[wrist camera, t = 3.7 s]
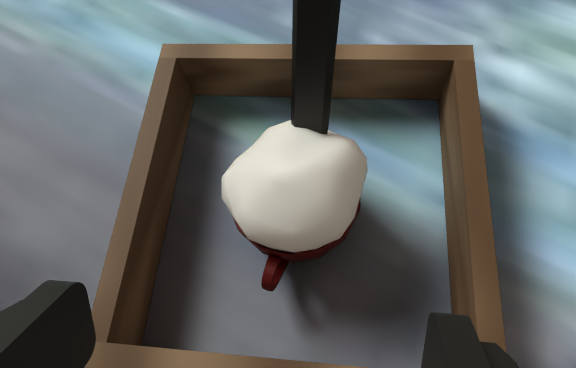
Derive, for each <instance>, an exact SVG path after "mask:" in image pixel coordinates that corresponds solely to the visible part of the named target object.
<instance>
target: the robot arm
mask: <svg viewBox="0 0 576 368" xmlns="http://www.w3.org/2000/svg"><path fill="white" fill-rule="evenodd" d="M95 343H96V333H95V328H94V323H93V318H92V314H91V309H90V304H89V299H88V295H87V290H86V288H85V286H84V285H83V284H82V283H80V282H68V281H55V280H48V281H46V282H44V283H43V284H41V285H40V286H39V287H38V288H37V289H36V290H34V291H33V292H32V293H31V294H30V295H29V296H27V297H26V298H25V299H24V300H21V301H19V302H17V303H16V304H14V305H12V306H10V307H8V308H6V309H4V310H3V311H1V312H0V368H84V367H85V366H86V364H87V363H88V361H89V360H90V358H91V356H92V354H93V351H94V348H95ZM421 368H519V367H518V365H517V363H516V362H515V361H514V360H513V359H512V358H511V357H510V356H509V355H508V354H507V353H506V352H505V351H504V350H503V349H502V348H501V347H500V346H499V345H498V344H497V343H491V342H480V340H479V338H478V336H477V333H476V331H475V328H474V326H473V324H472V321H471V319H470V317H469V316H468V315H459V314H447V313H435V312H431V313H430V315H429V319H428V325H427V331H426V338H425V345H424V351H423V358H422V365H421Z"/></svg>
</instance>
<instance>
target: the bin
mask: <svg viewBox="0 0 576 368" xmlns="http://www.w3.org/2000/svg"><path fill="white" fill-rule="evenodd" d="M195 95H217V96H269V97H291V96H292V44H163V45H162V49H161V52H160V56H159V60H158V64H157V67H156V71H155V75H154V79H153V82H152V86H151V90H150V94H149V97H148V101H147V105H146V109H145V112H144V116H143V120H142V124H141V128H140V131H139V135H138V139H137V143H136V146H135V150H134V154H133V158H132V161H131V165H130V169H129V173H128V176H127V180H126V184H125V188H124V192H123V195H122V199H121V203H120V207H119V210H118V214H117V218H116V222H115V225H114V229H113V233H112V237H111V240H110V244H109V248H108V252H107V256H106V259H105V263H104V267H103V271H102V274H101V278H100V282H99V286H98V289H97V293H96V297H95V301H94V304H93V308H92V312H91V314H92V318H93V323H94V328H95V333H96V343H95V348H94V351H93V354H92V356H91V358H90V360H89V361H88V363H87V364H86V366H85V367H89V368H366V367H355V366H345V365H335V364H324V363H314V362H303V361H293V360H282V359H272V358H262V357H251V356H241V355H230V354H220V353H210V352H199V351H189V350H178V349H168V348H158V347H147V346H141V343H142V339H143V334H144V329H145V325H146V320H147V315H148V311H149V306H150V301H151V297H152V292H153V287H154V283H155V278H156V273H157V269H158V264H159V259H160V255H161V250H162V245H163V241H164V236H165V231H166V227H167V222H168V217H169V212H170V208H171V203H172V198H173V194H174V189H175V184H176V180H177V175H178V170H179V166H180V161H181V156H182V152H183V147H184V142H185V138H186V133H187V128H188V124H189V119H190V114H191V110H192V105H193V100H194V96H195ZM331 98H372V99H423V100H438V105H439V120H440V136H441V151H442V167H443V183H444V198H445V214H446V229H447V245H448V261H449V276H450V292H451V307H452V314H459V315H468V316H469V317H470V319H471V321H472V324H473V326H474V328H475V331H476V333H477V336H478V338H479V340H480V342H491V343H497V344H498V345H499V346H500V347H501V348H502V349H503V350H504V351H505V352H506V343H505V334H504V325H503V316H502V307H501V298H500V289H499V280H498V271H497V261H496V252H495V243H494V234H493V225H492V216H491V207H490V198H489V189H488V180H487V171H486V162H485V153H484V143H483V134H482V125H481V116H480V107H479V98H478V89H477V80H476V71H475V62H474V53H473V45H336V53H335V63H334V73H333V84H332V94H331ZM506 353H507V352H506Z"/></svg>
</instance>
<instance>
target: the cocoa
mask: <svg viewBox="0 0 576 368" xmlns="http://www.w3.org/2000/svg"><path fill="white" fill-rule="evenodd" d="M340 3H341V0H293V30H292V96H291V120H289V121H286V122H283V123H281V124H278V125H275V126H272V127H269V128H267V130H266V131H265V132H264V133H263V134H262V135H261V136H260V138H259V139H258V140H257V141H256V142H255V143H254V144H253V145H252V146H251V147H250V148H249V149H247V150H246V151H245V152H244V153H242V154H241V155H240V156H239V157H238V158H236V159H235V160H234V162H233V163H232V164H231V166H230V167H229V168H228V170H227V171H226V172H225V174H224V175H223V176H222V199H223V201H224V203H225V204H226V206H227V207H228V209H229V211H230V212H231V214H232V216H233V218H234V221H235V224H236V226H237V229H238V230H239V231H240V233H241V234H242V235H243V236H244V237H245V238H247V239H248V240H249V241H250V242H251V243H252V244H253V245H254V246H255V247H256V248H258V249H259V250H260V251H261V252H262V253H263V254H266V255H269V257H268V259H267V262H266V265H265V269H264V272H263V277H262V288H263V289H265V290H267V291H273V290H274V289H275V288H276V286H277V285H278V283H279V281H280V279H281V277H282V275H283V273H284V271H285V269H286V267H287V265H288V263H289V261H291V262H296V261H302V260H307V259H313V258H319V257H321V256H322V255H324V254H325V253H327V252H328V251H329V250H331V249H332V248H334V247H335V246H336V245H338V244H339V243H341V242H342V241H343V240H344V239H345V238H346V236H347V234H348V232H349V230H350V229H351V227H352V225H353V223H354V221H355V219H356V217H357V215H358V213H359V210H360V196H361V192H362V188H363V185H364V181H365V178H366V174H367V158H366V156H365V155H364V154H363V152H362V151H361V149H360V148H359V147H358V145H357V144H356V142H355V141H354V140H352V139H349V138H347V137H344V136H341V135H339V134H336V133H334V132H332V131H330V130H328V124H329V114H330V104H331V94H332V84H333V73H334V63H335V53H336V43H337V33H338V23H339V13H340Z"/></svg>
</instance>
